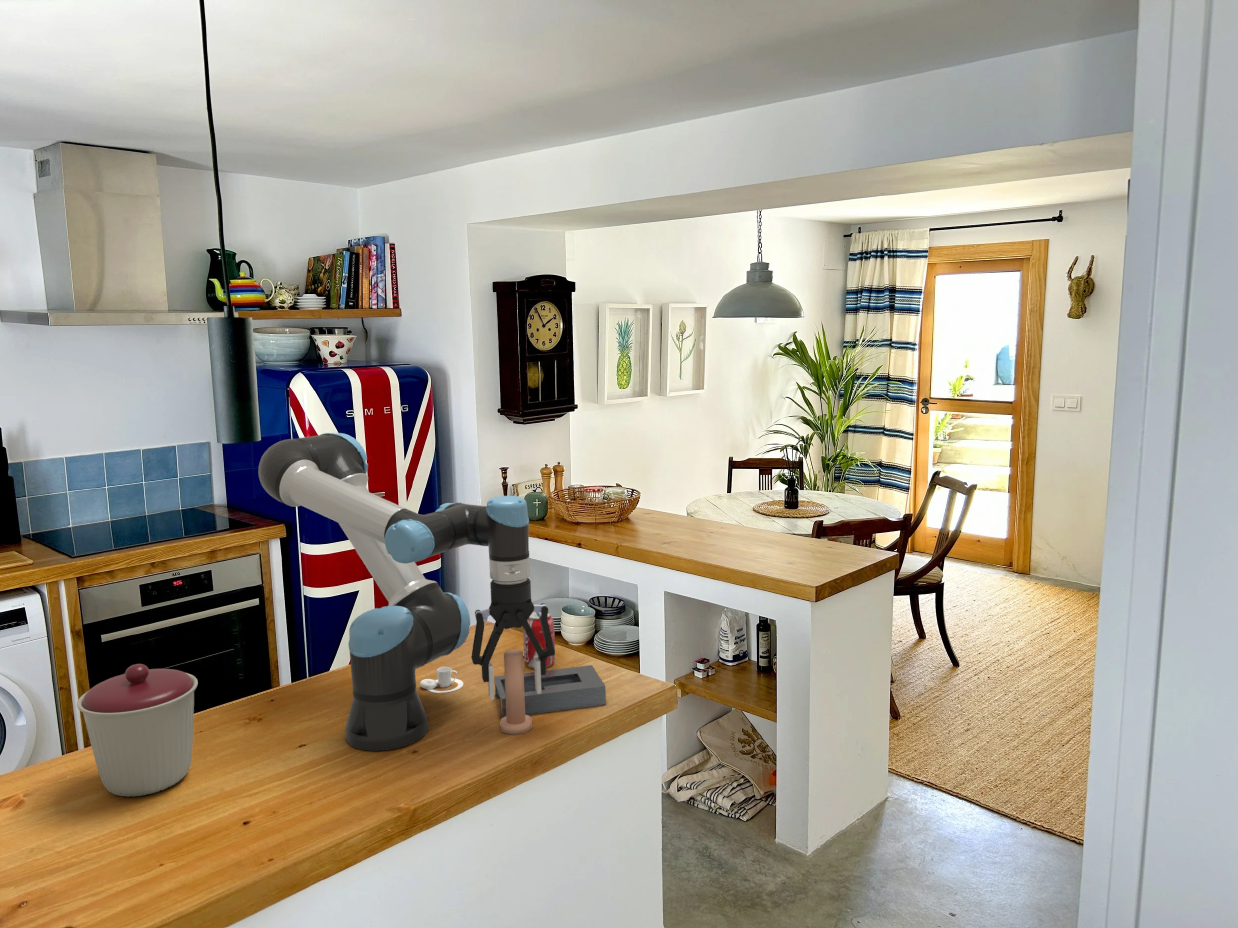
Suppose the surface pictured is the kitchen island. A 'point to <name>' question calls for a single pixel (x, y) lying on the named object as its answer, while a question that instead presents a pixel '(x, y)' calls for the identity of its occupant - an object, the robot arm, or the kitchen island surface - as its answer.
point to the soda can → (537, 630)
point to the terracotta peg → (515, 695)
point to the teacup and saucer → (441, 680)
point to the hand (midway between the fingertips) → (515, 693)
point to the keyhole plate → (558, 690)
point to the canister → (141, 728)
